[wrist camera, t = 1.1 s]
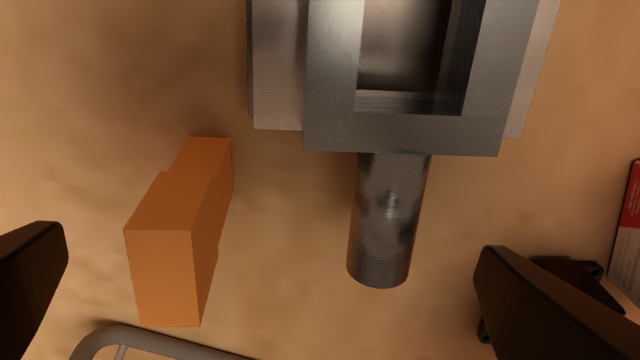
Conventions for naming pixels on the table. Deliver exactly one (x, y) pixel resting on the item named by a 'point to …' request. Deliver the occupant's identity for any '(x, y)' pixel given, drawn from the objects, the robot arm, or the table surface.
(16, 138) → the table surface
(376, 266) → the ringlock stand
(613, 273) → the ink box
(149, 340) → the newton's cradle
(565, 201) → the table surface
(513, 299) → the robot arm
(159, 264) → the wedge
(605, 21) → the table surface
